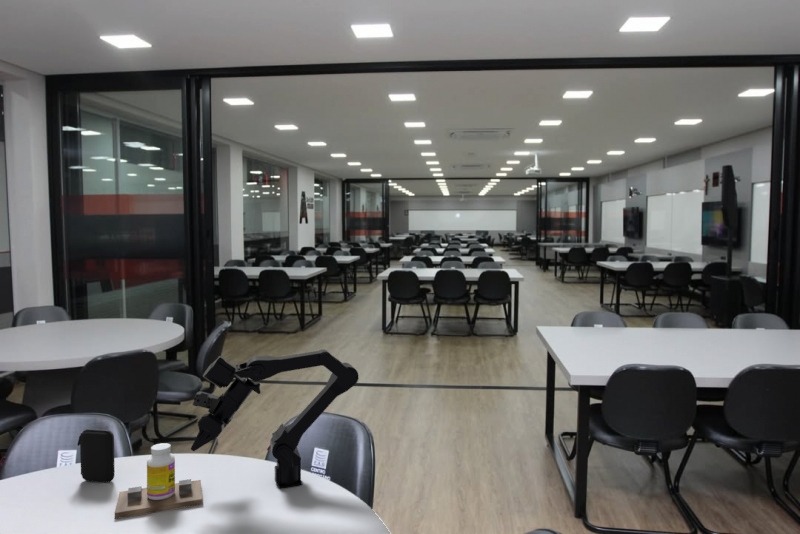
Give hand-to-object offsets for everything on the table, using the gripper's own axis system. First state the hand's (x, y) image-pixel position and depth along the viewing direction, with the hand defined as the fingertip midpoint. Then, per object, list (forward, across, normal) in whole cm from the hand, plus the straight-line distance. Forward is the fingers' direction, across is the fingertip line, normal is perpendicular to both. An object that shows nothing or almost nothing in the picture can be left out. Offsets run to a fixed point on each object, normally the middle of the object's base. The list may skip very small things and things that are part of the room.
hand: (196, 445), depth 144 cm
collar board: (+16, +1, +2) cm, 16 cm away
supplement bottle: (+14, +1, +1) cm, 15 cm away
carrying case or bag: (+27, -13, -16) cm, 34 cm away
